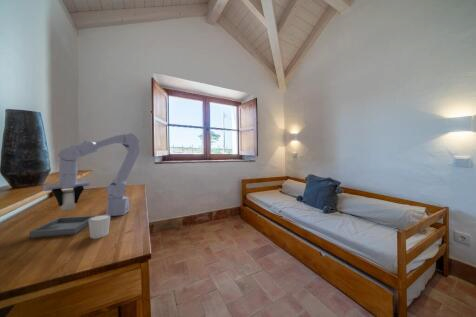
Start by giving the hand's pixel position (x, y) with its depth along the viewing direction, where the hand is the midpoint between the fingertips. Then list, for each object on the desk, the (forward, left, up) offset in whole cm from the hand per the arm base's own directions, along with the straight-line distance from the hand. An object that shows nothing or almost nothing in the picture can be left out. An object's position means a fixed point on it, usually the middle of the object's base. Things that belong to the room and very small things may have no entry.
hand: (68, 204), depth 75 cm
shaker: (0, 0, -2) cm, 2 cm away
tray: (-3, +5, -9) cm, 11 cm away
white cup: (-19, +14, -9) cm, 25 cm away
